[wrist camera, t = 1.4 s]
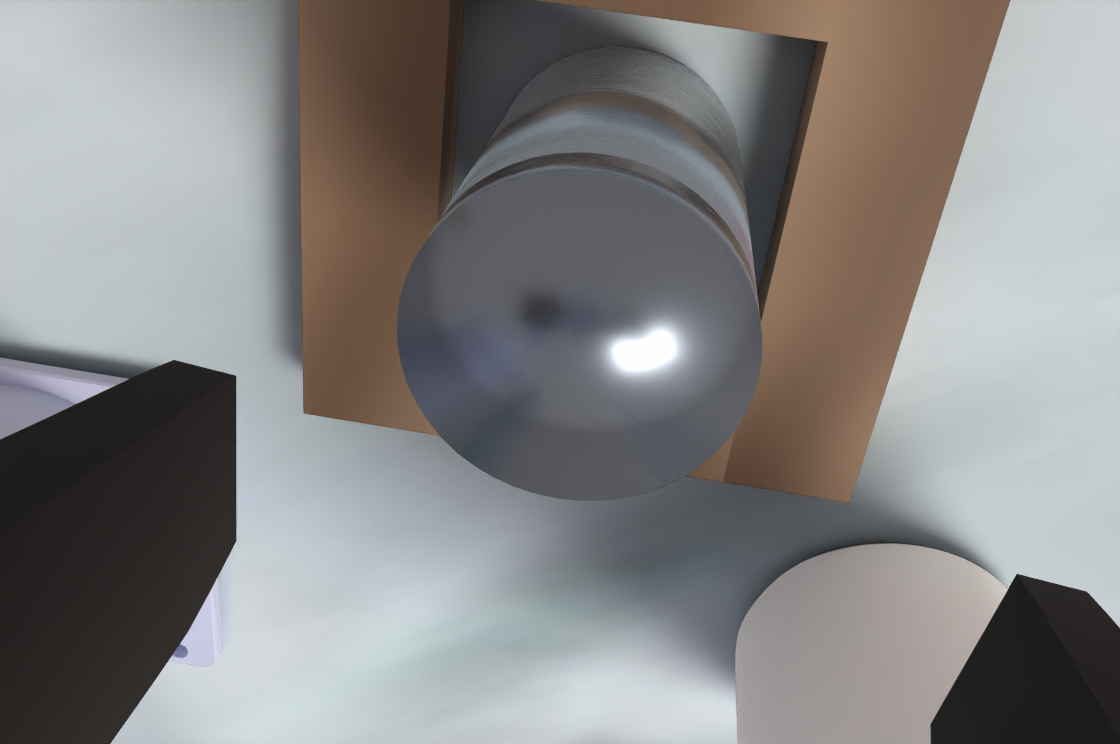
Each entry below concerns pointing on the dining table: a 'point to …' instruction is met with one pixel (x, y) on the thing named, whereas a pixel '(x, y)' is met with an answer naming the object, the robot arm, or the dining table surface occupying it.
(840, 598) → the can
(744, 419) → the collar
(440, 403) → the grey metal cylinder
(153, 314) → the dining table surface
